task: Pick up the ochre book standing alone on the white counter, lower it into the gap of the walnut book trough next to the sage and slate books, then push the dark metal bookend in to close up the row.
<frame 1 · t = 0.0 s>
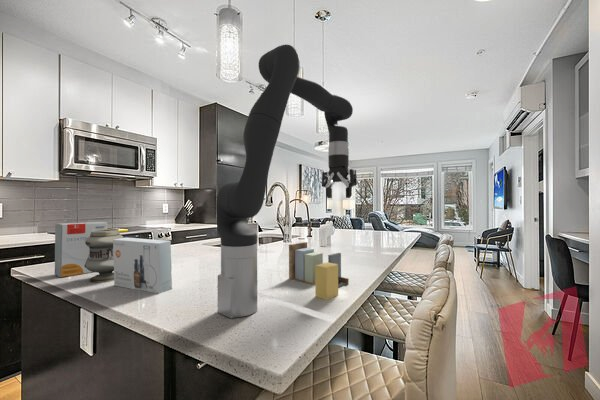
hand: (338, 198, 107), 29 cm above the countertop, tool pointing down, fingers open, 8 cm apart
book slate: (304, 277, 100), point 1 cm above the countertop, touching book trough
hard drive box: (81, 272, 114), on the countertop
book ochre: (326, 299, 81), on the countertop
bookend: (337, 270, 90), point 6 cm above the countertop, slide at 0.0 cm, touching book trough
skincare box: (142, 288, 93), on the countertop
book trough: (317, 284, 96), on the countertop
book sage: (313, 280, 97), point 1 cm above the countertop, touching book trough
apothecary jar: (105, 279, 104), on the countertop
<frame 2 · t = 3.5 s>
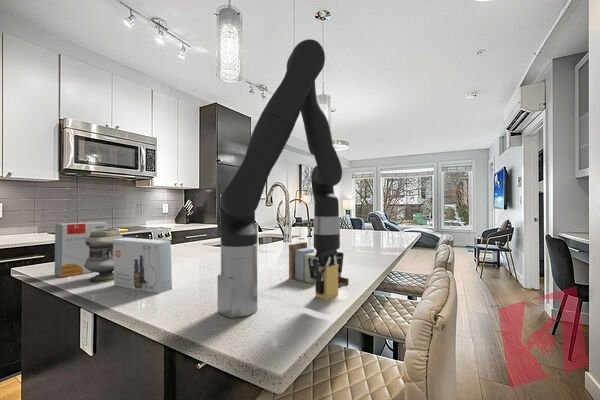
hand: (326, 290, 81), 3 cm above the countertop, tool pointing down, fingers closed on book ochre, 5 cm apart
book ochre: (326, 299, 81), on the countertop, touching gripper
everything else where it was.
when the fingers open (5 cm above the countertop, at t = 8.7 s): book ochre stays where it is, resting on book trough.
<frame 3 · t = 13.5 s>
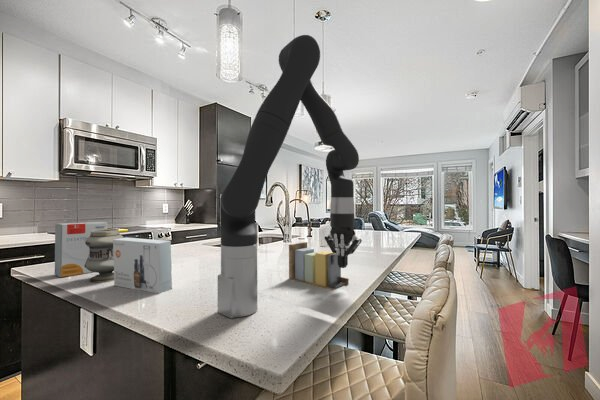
hand: (342, 267, 89), 7 cm above the countertop, tool pointing down, fingers closed
book ochre: (325, 283, 93), point 1 cm above the countertop, touching book trough
bookend: (336, 270, 90), point 6 cm above the countertop, slide at 0.1 cm, touching book trough, gripper
everything else where it was.
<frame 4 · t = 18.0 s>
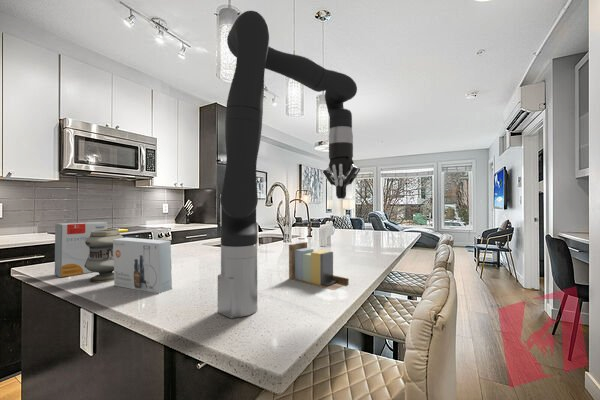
hand: (341, 198, 89), 29 cm above the countertop, tool pointing down, fingers closed
book slate: (304, 277, 100), point 1 cm above the countertop, touching book sage, book trough
book ochre: (320, 281, 95), point 1 cm above the countertop, touching book sage, book trough, bookend
bookend: (329, 268, 92), point 6 cm above the countertop, slide at 3.2 cm, touching book ochre, book trough
book sage: (312, 279, 97), point 1 cm above the countertop, touching book ochre, book slate
everything else where it was.
at the end: book ochre 1.7 cm from the target spot, point 1.2 cm above the countertop; book ochre tilted 0°; bookend slide at 3.2 cm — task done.
